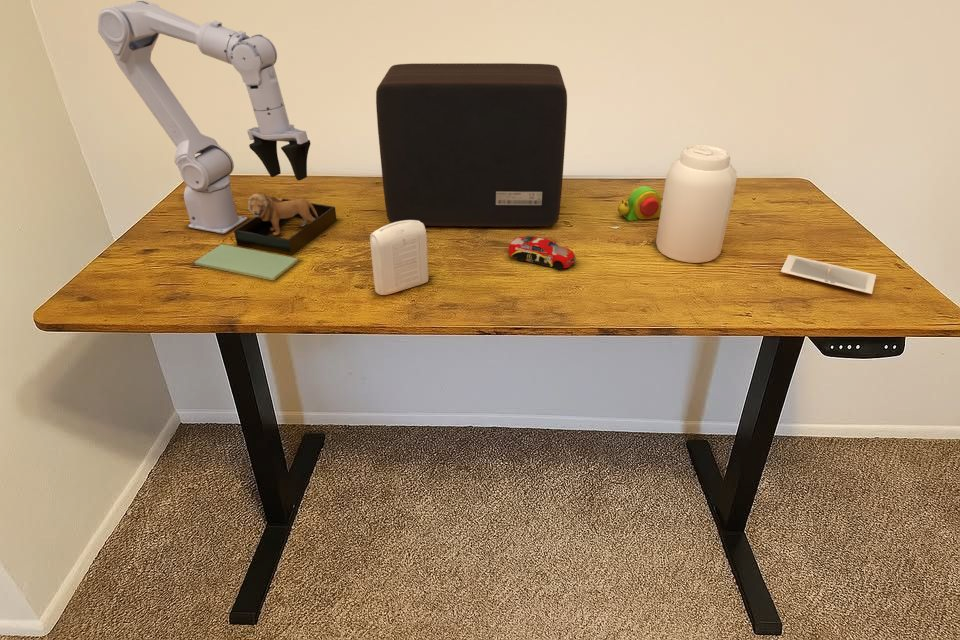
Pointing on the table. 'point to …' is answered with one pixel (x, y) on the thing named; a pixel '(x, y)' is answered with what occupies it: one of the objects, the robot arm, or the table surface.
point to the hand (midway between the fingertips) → (288, 176)
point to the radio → (472, 143)
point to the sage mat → (246, 262)
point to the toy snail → (641, 204)
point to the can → (696, 204)
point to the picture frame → (257, 238)
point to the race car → (541, 252)
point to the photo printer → (399, 256)
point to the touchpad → (829, 273)
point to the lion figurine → (279, 209)
